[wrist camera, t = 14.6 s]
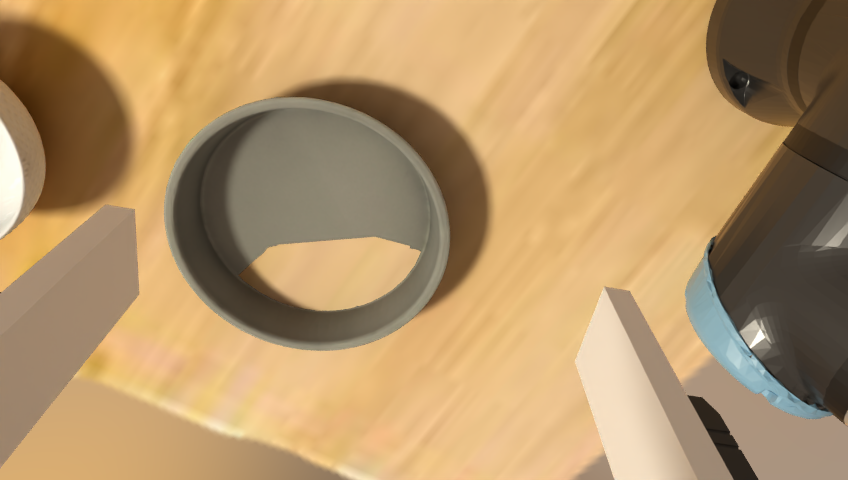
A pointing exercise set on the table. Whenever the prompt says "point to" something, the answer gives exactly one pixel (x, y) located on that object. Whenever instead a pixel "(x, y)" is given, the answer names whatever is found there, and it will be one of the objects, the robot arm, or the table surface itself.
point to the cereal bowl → (18, 161)
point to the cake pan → (302, 213)
